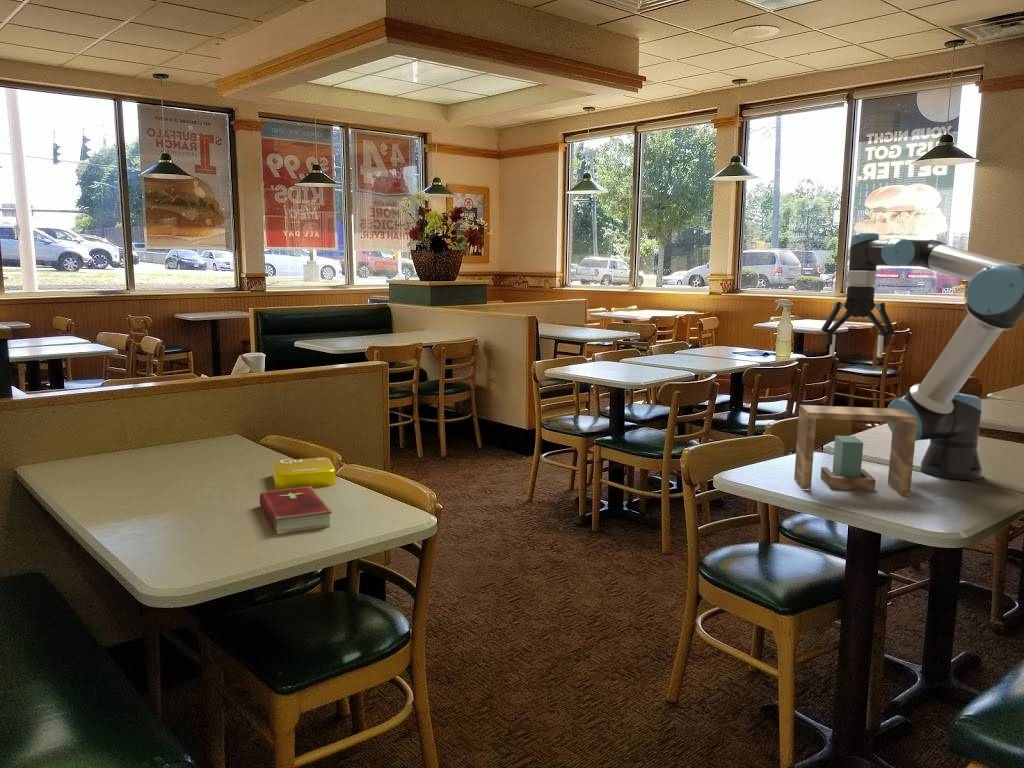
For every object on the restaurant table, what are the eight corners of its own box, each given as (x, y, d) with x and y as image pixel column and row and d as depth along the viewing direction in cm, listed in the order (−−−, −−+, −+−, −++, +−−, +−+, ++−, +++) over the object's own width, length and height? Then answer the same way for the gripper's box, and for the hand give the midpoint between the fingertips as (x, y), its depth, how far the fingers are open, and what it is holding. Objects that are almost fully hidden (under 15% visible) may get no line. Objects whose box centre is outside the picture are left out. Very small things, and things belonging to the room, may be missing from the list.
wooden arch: (892, 481, 209) (898, 407, 206) (909, 496, 195) (917, 416, 192) (792, 476, 213) (797, 403, 210) (802, 490, 199) (808, 412, 196)
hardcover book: (274, 536, 161) (274, 517, 161) (259, 508, 180) (259, 490, 179) (332, 529, 167) (331, 510, 166) (311, 502, 185) (311, 485, 185)
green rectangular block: (851, 479, 211) (854, 436, 209) (859, 487, 203) (863, 442, 201) (831, 478, 211) (835, 435, 210) (839, 486, 204) (843, 442, 202)
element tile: (276, 491, 193) (275, 473, 193) (272, 476, 207) (271, 459, 206) (336, 486, 199) (336, 468, 198) (329, 471, 212) (328, 454, 212)
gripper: (901, 286, 232) (895, 356, 235) (814, 284, 236) (809, 353, 239) (910, 286, 224) (903, 359, 228) (820, 285, 228) (815, 356, 231)
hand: (855, 356), depth 233 cm, fingers open, 13 cm apart
